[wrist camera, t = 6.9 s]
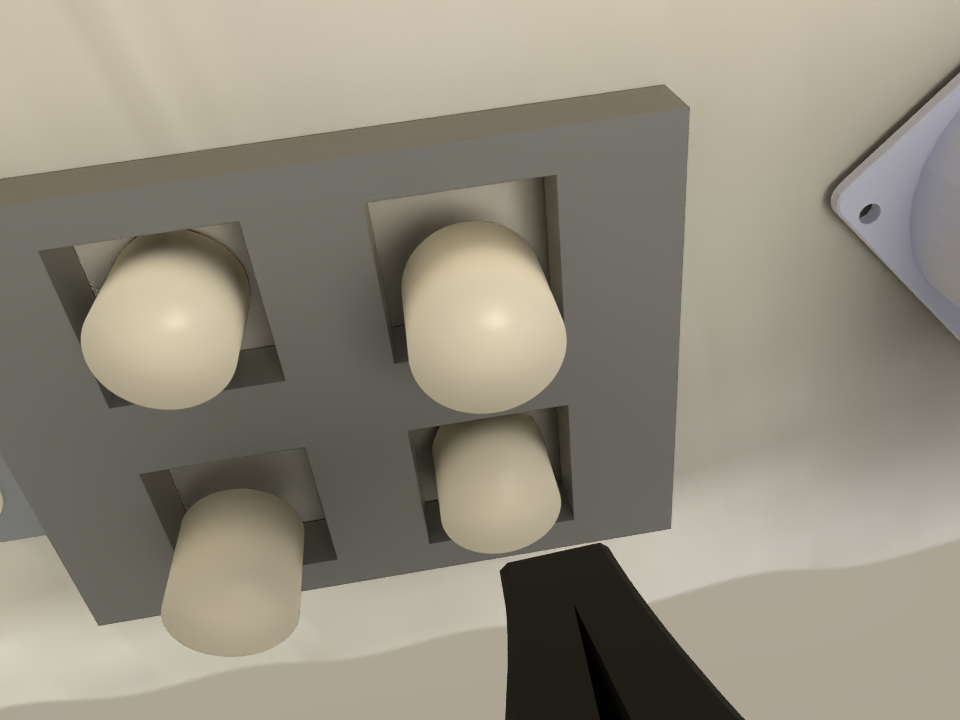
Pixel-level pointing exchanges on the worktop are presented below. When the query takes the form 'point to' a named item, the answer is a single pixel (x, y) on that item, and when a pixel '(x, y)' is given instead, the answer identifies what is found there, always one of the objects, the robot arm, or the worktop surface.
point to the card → (15, 510)
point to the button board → (347, 337)
